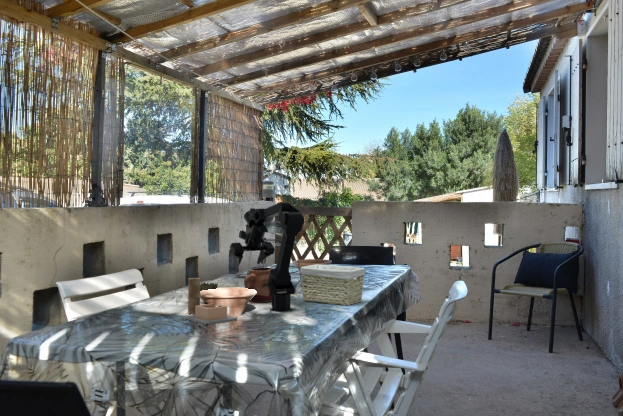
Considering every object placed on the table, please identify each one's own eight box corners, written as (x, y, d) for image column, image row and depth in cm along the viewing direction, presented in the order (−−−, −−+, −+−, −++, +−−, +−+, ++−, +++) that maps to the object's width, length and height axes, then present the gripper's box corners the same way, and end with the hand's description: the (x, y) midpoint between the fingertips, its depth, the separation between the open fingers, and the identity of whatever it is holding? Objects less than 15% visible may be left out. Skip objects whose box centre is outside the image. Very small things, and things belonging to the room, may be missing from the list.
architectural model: (238, 286, 301) (238, 266, 301) (280, 290, 289) (280, 269, 289) (213, 290, 284) (213, 270, 284) (257, 295, 272) (257, 273, 272)
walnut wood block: (198, 312, 226) (199, 277, 226) (199, 314, 222) (200, 279, 222) (187, 312, 225) (188, 277, 225) (188, 314, 221) (189, 279, 221)
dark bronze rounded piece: (213, 304, 244) (213, 284, 244) (196, 303, 245) (196, 284, 245) (220, 301, 251) (220, 282, 251) (203, 300, 252) (203, 281, 252)
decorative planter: (259, 306, 241) (259, 271, 241) (233, 303, 247) (234, 269, 246) (284, 299, 258) (284, 267, 258) (260, 297, 264) (260, 265, 264)
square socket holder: (217, 314, 222) (217, 301, 222) (236, 320, 212) (237, 306, 212) (185, 318, 213) (185, 305, 213) (204, 324, 203) (204, 310, 203)
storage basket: (366, 301, 257) (366, 266, 257) (350, 307, 243) (350, 270, 243) (316, 296, 268) (316, 263, 268) (298, 301, 254) (298, 266, 254)
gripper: (269, 223, 263) (260, 252, 270) (229, 223, 253) (221, 253, 261) (279, 238, 255) (270, 267, 262) (238, 239, 245) (230, 269, 253)
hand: (248, 264), depth 260 cm, fingers open, 9 cm apart
